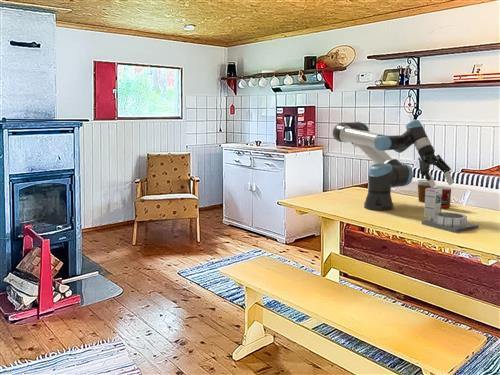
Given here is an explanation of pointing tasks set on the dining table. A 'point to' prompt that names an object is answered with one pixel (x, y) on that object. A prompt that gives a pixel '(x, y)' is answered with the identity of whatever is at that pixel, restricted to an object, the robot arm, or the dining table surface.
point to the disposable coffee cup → (422, 189)
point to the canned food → (445, 197)
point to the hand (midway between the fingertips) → (442, 185)
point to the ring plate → (449, 228)
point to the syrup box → (432, 201)
